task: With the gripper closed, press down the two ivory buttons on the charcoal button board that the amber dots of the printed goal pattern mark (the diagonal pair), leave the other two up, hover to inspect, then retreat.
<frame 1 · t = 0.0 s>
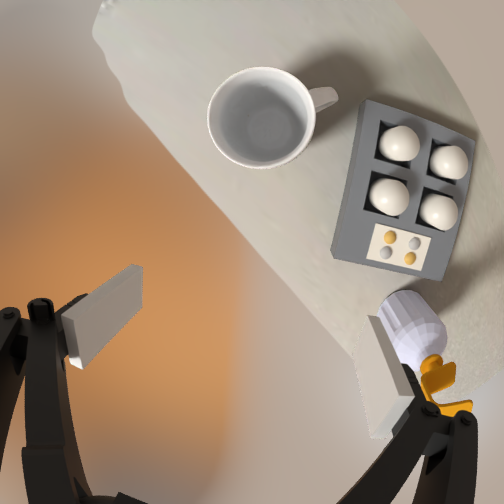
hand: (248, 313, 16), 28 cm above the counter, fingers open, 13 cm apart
soap bottle: (400, 312, 44), on the counter
button board: (403, 192, 39), on the counter
button A: (398, 144, 33), point 5 cm above the counter, slide at 0.0 cm
button C: (388, 195, 35), point 5 cm above the counter, slide at 0.0 cm
button D: (437, 210, 34), point 5 cm above the counter, slide at 0.0 cm
mug: (277, 127, 39), on the counter
button B: (447, 162, 32), point 5 cm above the counter, slide at 0.0 cm
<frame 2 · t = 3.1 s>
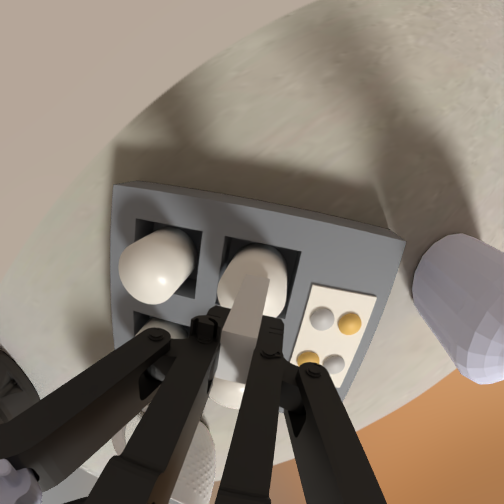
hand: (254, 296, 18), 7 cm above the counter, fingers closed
soap bottle: (449, 278, 23), on the counter
button board: (242, 300, 26), on the counter
button A: (156, 350, 23), point 5 cm above the counter, slide at 0.0 cm
button C: (237, 371, 23), point 5 cm above the counter, slide at 0.0 cm
button D: (255, 281, 21), point 4 cm above the counter, slide at 0.5 cm, touching gripper
mug: (181, 421, 33), on the counter
button B: (159, 263, 21), point 5 cm above the counter, slide at 0.0 cm
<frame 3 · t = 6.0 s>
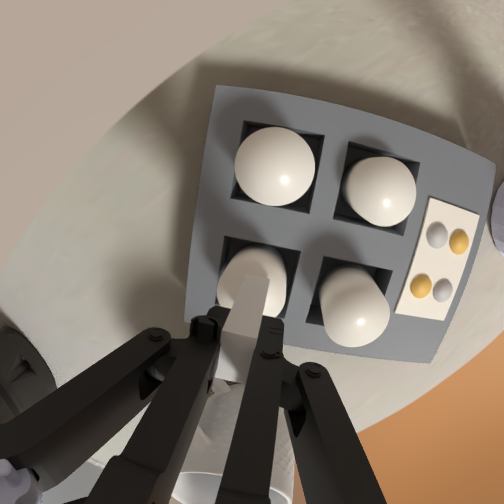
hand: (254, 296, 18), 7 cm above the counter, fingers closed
button board: (342, 230, 23), on the counter
button A: (254, 281, 21), point 4 cm above the counter, slide at 0.5 cm, touching gripper
button C: (351, 303, 20), point 5 cm above the counter, slide at 0.0 cm
button D: (375, 188, 19), point 3 cm above the counter, slide at 1.6 cm
mug: (243, 396, 30), on the counter
button B: (276, 166, 18), point 5 cm above the counter, slide at 0.0 cm
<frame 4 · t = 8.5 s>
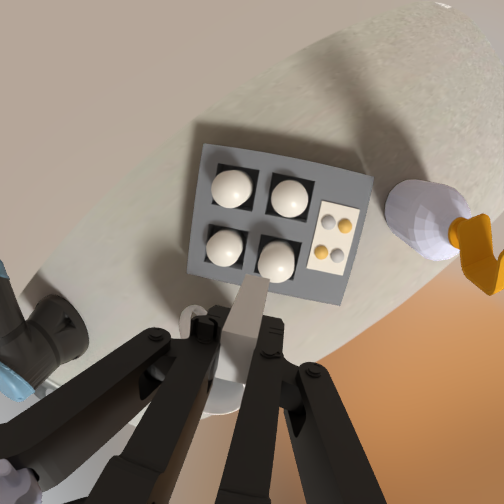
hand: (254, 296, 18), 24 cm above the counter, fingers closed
soap bottle: (411, 209, 38), on the counter
button board: (277, 221, 41), on the counter
button A: (226, 245, 40), point 3 cm above the counter, slide at 1.7 cm
button C: (277, 260, 38), point 5 cm above the counter, slide at 0.0 cm
button D: (289, 197, 37), point 3 cm above the counter, slide at 1.6 cm
mug: (223, 331, 48), on the counter
button B: (233, 187, 36), point 5 cm above the counter, slide at 0.0 cm
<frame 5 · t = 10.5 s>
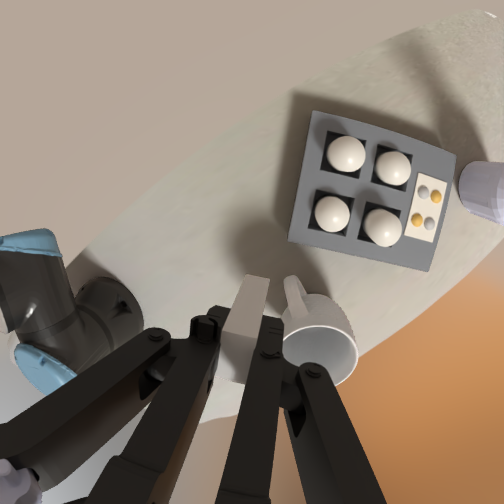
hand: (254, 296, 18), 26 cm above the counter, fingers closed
soap bottle: (476, 187, 37), on the counter
button board: (372, 191, 40), on the counter
button A: (330, 212, 39), point 3 cm above the counter, slide at 1.7 cm
button C: (381, 226, 37), point 5 cm above the counter, slide at 0.0 cm
button D: (390, 167, 36), point 3 cm above the counter, slide at 1.6 cm
mug: (309, 306, 47), on the counter
button B: (344, 154, 35), point 5 cm above the counter, slide at 0.0 cm
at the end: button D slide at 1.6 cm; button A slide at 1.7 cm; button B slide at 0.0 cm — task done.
